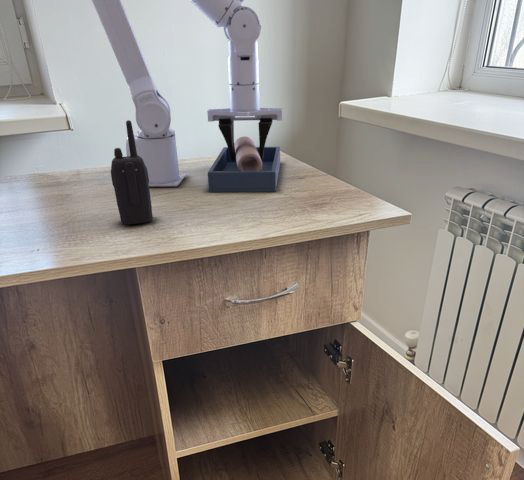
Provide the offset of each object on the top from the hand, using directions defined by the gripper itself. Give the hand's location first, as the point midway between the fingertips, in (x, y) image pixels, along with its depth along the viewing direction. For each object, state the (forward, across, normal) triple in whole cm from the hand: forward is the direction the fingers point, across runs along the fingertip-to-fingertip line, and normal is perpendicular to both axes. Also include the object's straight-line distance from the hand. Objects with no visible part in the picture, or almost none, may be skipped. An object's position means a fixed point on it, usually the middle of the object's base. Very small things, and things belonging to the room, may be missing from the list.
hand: (246, 159), depth 101 cm
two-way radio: (+4, -15, -29) cm, 33 cm away
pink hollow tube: (+2, 0, 0) cm, 2 cm away
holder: (+3, 0, 0) cm, 3 cm away
